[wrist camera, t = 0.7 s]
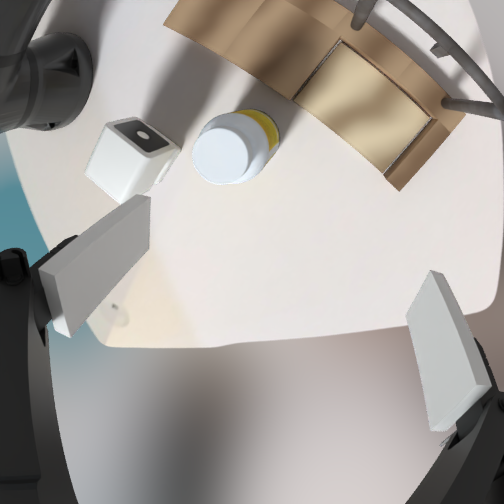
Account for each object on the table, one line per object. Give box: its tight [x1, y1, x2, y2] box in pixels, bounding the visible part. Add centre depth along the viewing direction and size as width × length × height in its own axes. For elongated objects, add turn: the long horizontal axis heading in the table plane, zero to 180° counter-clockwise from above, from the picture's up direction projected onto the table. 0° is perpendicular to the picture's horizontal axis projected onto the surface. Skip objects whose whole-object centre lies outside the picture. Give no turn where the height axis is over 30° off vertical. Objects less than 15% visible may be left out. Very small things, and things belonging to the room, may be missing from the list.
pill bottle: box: [192, 109, 280, 185], centre depth 29 cm, size 6×6×12 cm
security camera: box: [85, 117, 181, 204], centre depth 32 cm, size 6×7×10 cm
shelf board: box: [163, 0, 504, 191], centre depth 21 cm, size 32×12×16 cm, turn 56°
